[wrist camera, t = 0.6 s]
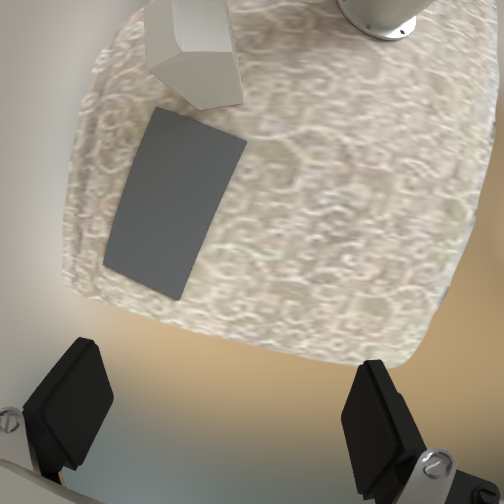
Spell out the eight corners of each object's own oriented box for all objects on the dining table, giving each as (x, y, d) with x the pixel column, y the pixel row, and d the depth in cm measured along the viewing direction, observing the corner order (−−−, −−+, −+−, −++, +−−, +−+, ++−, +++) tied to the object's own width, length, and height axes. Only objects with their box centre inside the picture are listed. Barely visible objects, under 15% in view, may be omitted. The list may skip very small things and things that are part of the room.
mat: (157, 107, 34) (156, 106, 33) (247, 142, 35) (246, 141, 35) (104, 263, 41) (102, 264, 40) (179, 299, 42) (179, 300, 41)
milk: (198, 111, 34) (125, 60, 13) (193, 69, 32) (125, -11, 11) (245, 103, 34) (227, 34, 13) (239, 61, 32) (217, -36, 11)
